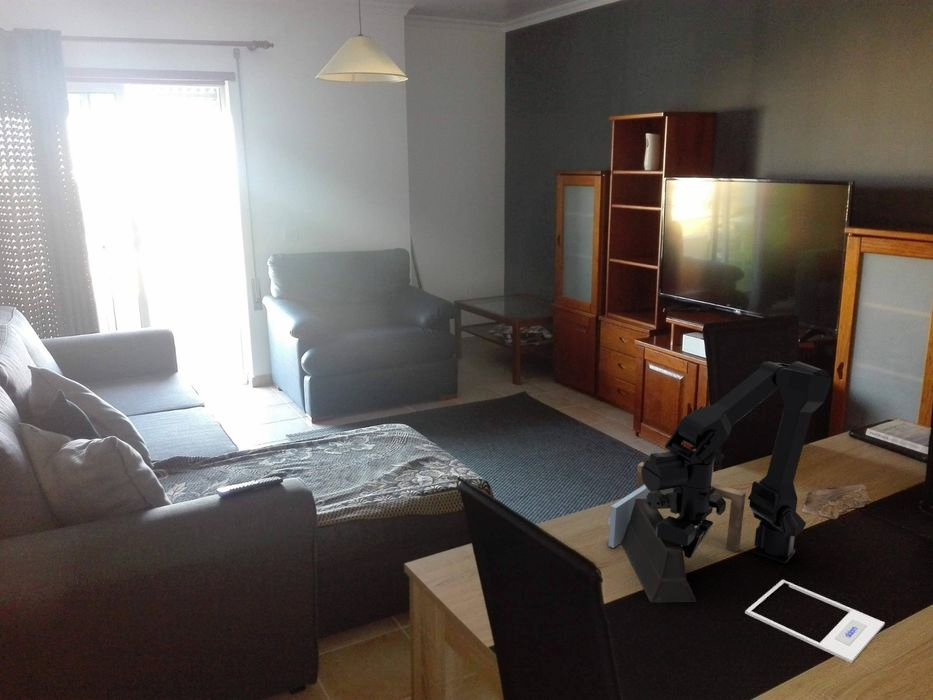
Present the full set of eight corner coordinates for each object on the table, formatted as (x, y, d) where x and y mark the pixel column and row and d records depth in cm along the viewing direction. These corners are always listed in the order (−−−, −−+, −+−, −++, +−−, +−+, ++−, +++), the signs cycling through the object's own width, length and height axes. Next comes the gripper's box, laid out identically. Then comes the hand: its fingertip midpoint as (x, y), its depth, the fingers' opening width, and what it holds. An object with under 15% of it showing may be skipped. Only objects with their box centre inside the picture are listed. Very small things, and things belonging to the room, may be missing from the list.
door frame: (739, 548, 154) (745, 492, 151) (735, 552, 152) (742, 496, 149) (638, 513, 168) (641, 461, 165) (633, 516, 167) (637, 464, 164)
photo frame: (852, 659, 120) (745, 609, 132) (851, 665, 120) (744, 615, 133) (884, 621, 129) (782, 578, 142) (883, 627, 130) (781, 583, 142)
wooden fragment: (825, 524, 164) (826, 520, 164) (781, 505, 173) (782, 501, 173) (890, 497, 178) (891, 493, 178) (846, 480, 187) (847, 476, 186)
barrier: (697, 602, 136) (702, 553, 133) (650, 603, 135) (654, 554, 133) (657, 536, 159) (661, 493, 156) (616, 538, 158) (619, 494, 155)
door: (641, 516, 166) (644, 479, 164) (651, 520, 165) (654, 482, 162) (602, 543, 155) (604, 504, 152) (613, 548, 153) (616, 508, 151)
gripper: (676, 455, 152) (670, 525, 156) (632, 486, 138) (626, 562, 142) (730, 470, 145) (722, 543, 149) (690, 504, 131) (682, 583, 135)
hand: (688, 556), depth 144 cm, fingers closed
